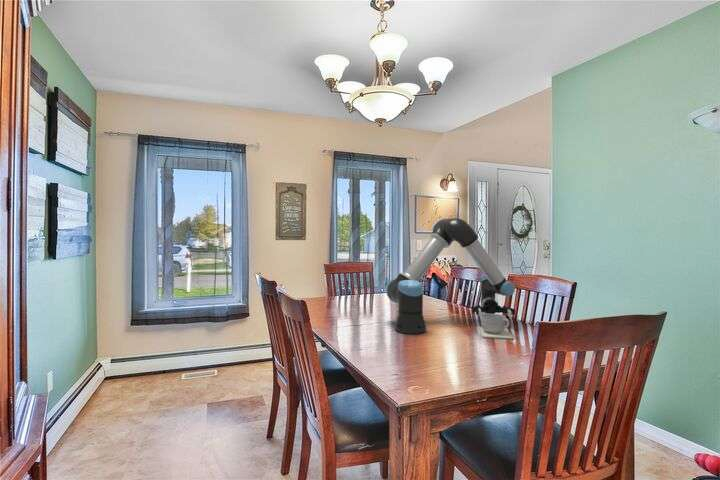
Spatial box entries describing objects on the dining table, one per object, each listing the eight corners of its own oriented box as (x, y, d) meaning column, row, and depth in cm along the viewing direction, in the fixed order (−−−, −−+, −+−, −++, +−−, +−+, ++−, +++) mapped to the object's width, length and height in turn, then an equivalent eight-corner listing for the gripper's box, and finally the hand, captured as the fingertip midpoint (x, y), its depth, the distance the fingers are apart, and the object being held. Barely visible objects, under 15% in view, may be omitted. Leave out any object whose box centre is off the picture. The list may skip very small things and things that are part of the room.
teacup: (476, 330, 178) (476, 313, 178) (495, 328, 181) (495, 311, 181) (496, 337, 165) (496, 319, 164) (516, 335, 168) (516, 317, 168)
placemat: (482, 338, 166) (482, 336, 166) (478, 327, 185) (478, 326, 185) (513, 339, 164) (513, 338, 164) (506, 328, 182) (506, 327, 182)
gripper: (515, 313, 195) (523, 323, 175) (465, 311, 201) (468, 320, 180) (515, 299, 195) (523, 307, 174) (465, 297, 201) (468, 305, 180)
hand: (495, 314), depth 177 cm, fingers open, 13 cm apart
